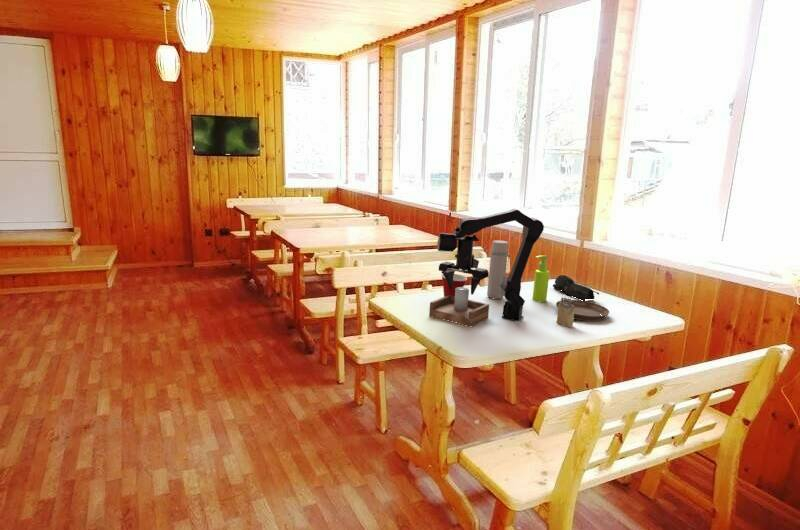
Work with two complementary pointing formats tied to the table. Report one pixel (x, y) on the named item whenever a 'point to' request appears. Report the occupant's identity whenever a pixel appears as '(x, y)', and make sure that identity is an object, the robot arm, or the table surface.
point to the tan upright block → (565, 312)
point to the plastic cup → (457, 282)
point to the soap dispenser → (541, 280)
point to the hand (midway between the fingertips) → (461, 292)
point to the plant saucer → (587, 310)
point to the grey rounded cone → (461, 299)
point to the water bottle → (497, 268)
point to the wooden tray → (446, 311)
